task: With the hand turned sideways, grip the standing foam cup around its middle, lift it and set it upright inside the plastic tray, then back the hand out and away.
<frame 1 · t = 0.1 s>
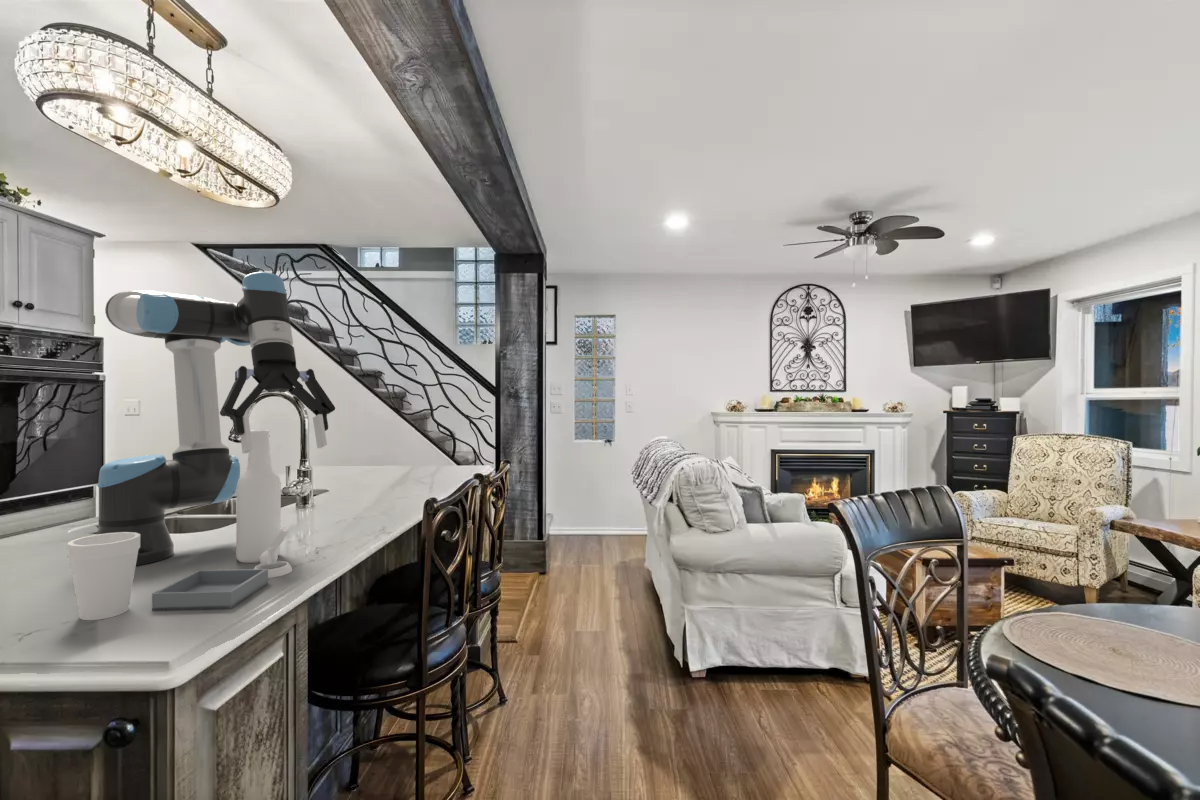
hand: (286, 449, 108), 28 cm above the counter, tool tilted 20°, fingers open, 13 cm apart
alcohol: (258, 558, 129), on the counter
tray: (213, 596, 105), on the counter
foam cup: (104, 614, 97), on the counter
hook: (271, 573, 119), on the counter
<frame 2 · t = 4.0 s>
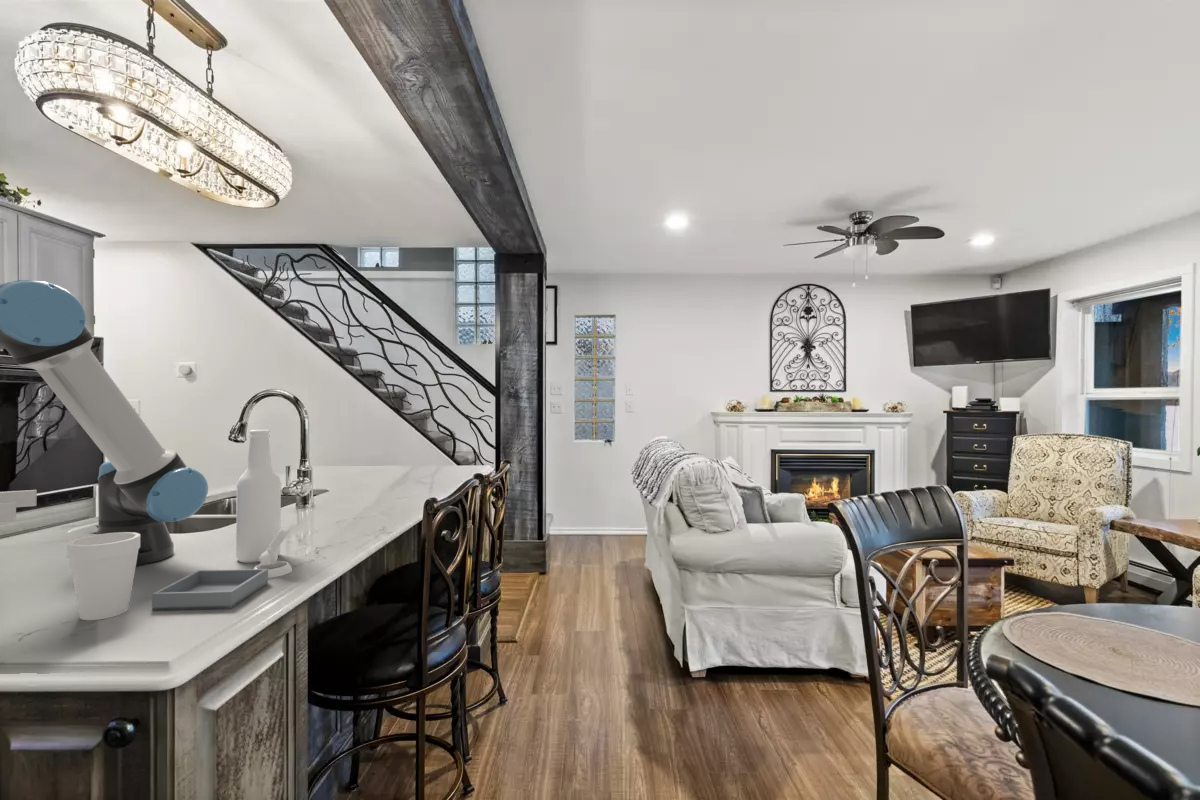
hand: (26, 504, 91), 20 cm above the counter, tool horizontal, fingers open, 13 cm apart
nothing on the counter moved.
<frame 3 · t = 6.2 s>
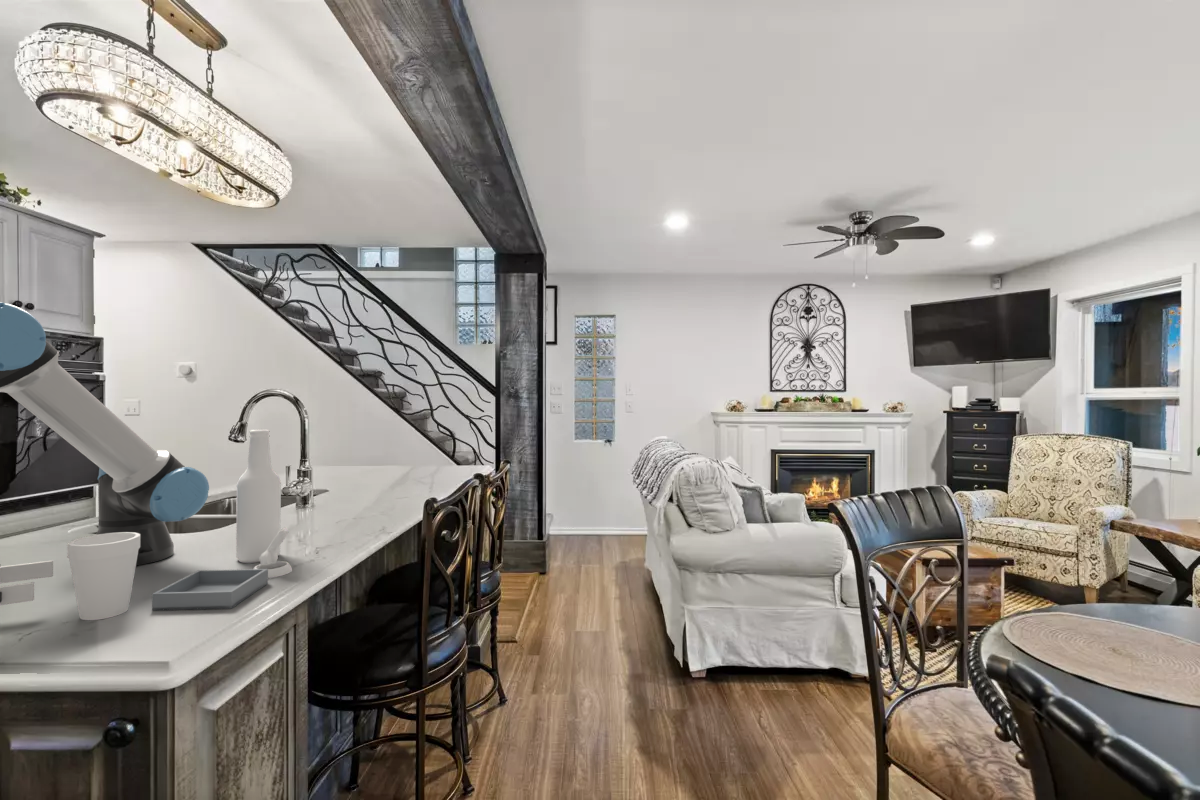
hand: (44, 579, 92), 7 cm above the counter, tool horizontal, fingers open, 13 cm apart
nothing on the counter moved.
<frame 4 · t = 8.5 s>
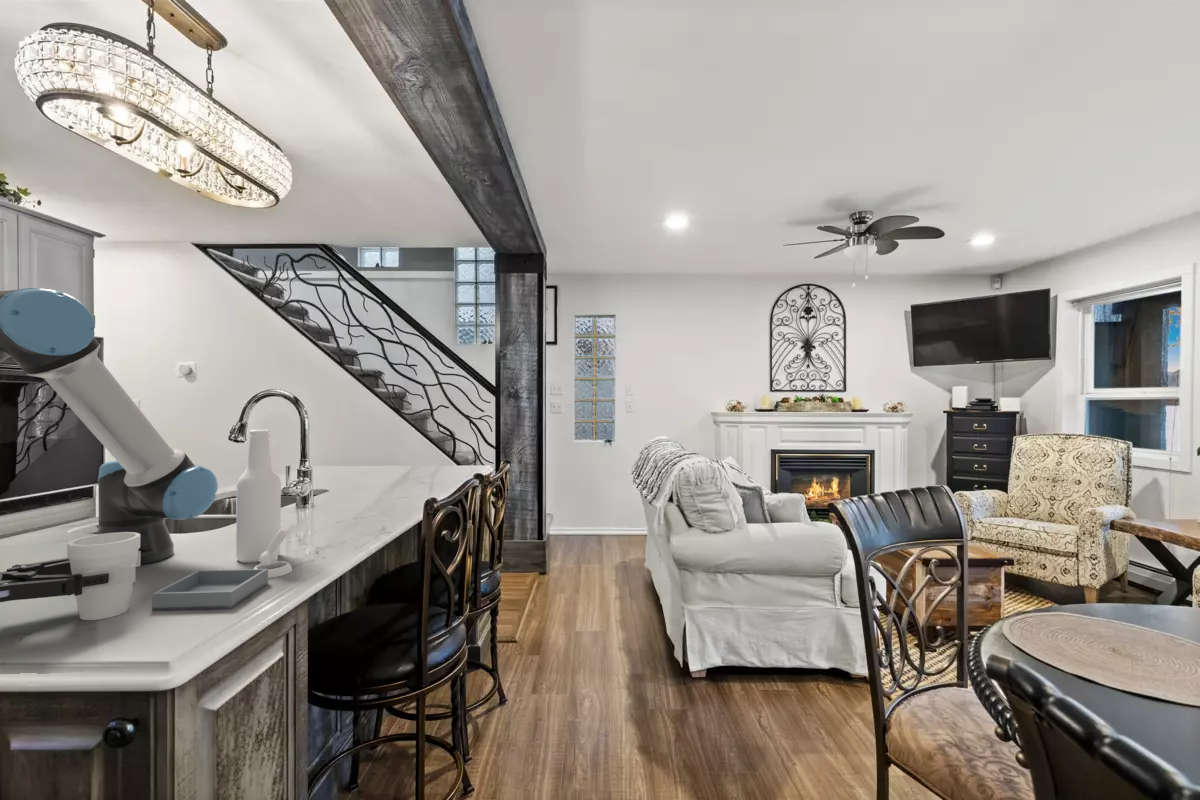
hand: (137, 565, 99), 8 cm above the counter, tool horizontal, fingers closed on foam cup, 9 cm apart
foam cup: (104, 614, 97), on the counter, touching gripper
everything else where it was.
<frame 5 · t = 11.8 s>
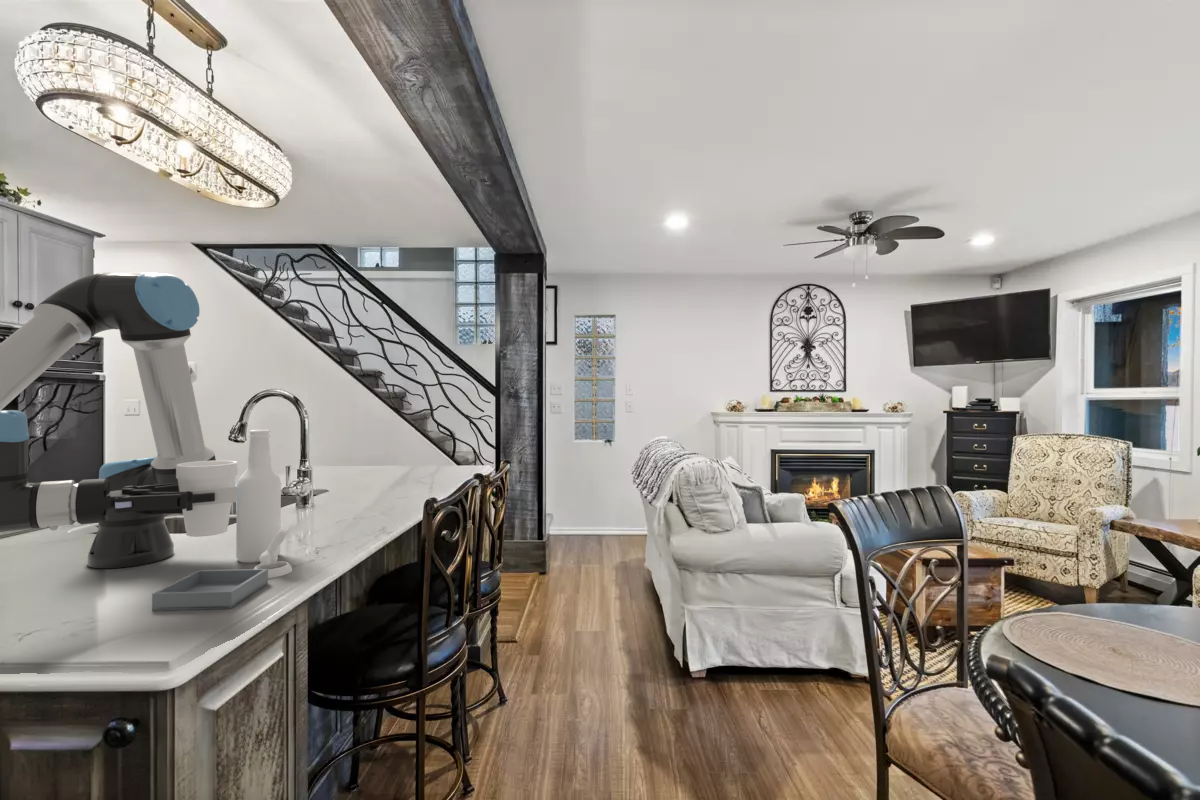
hand: (235, 490, 106), 20 cm above the counter, tool horizontal, fingers closed on foam cup, 9 cm apart
foam cup: (207, 533, 104), point 12 cm above the counter, touching gripper
everything else where it was.
when the fingers open (9 cm above the counter, at t = 15.0 s): foam cup stays where it is, resting on tray.
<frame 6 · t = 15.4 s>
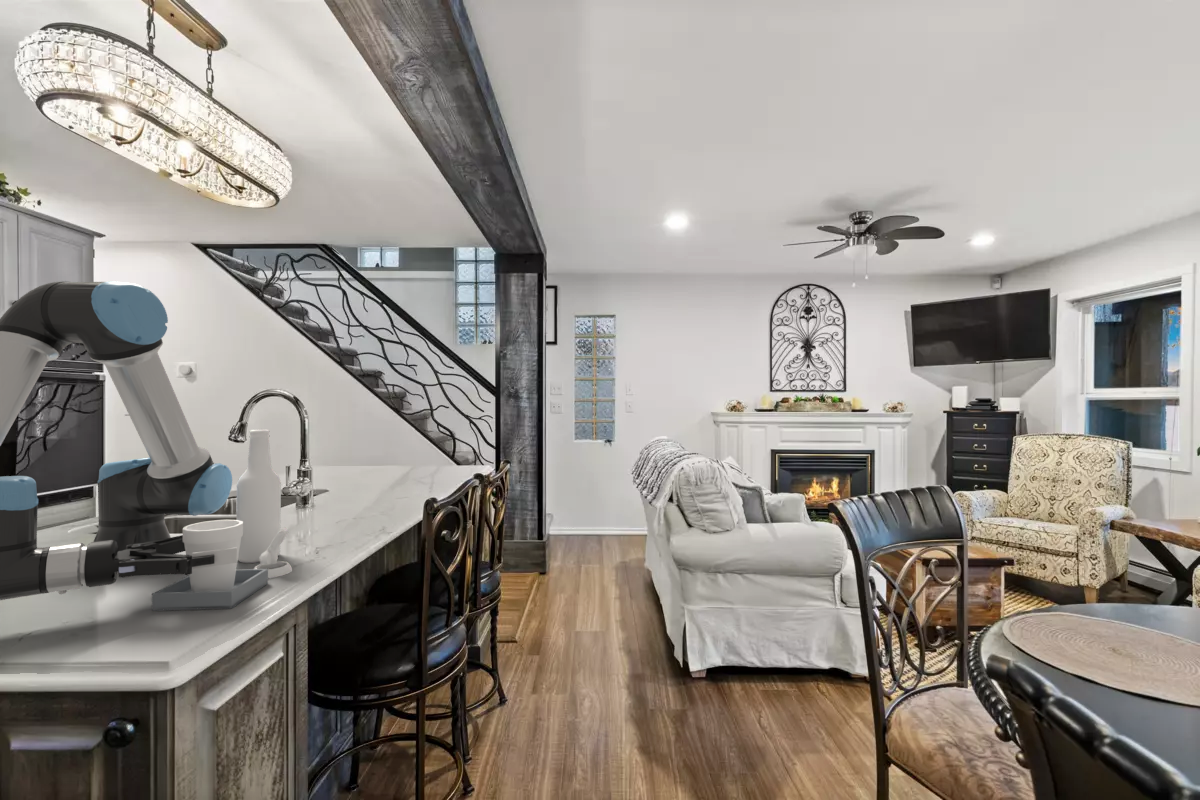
hand: (235, 546, 107), 9 cm above the counter, tool horizontal, fingers open, 13 cm apart
foam cup: (213, 594, 105), resting on tray
everything else where it was.
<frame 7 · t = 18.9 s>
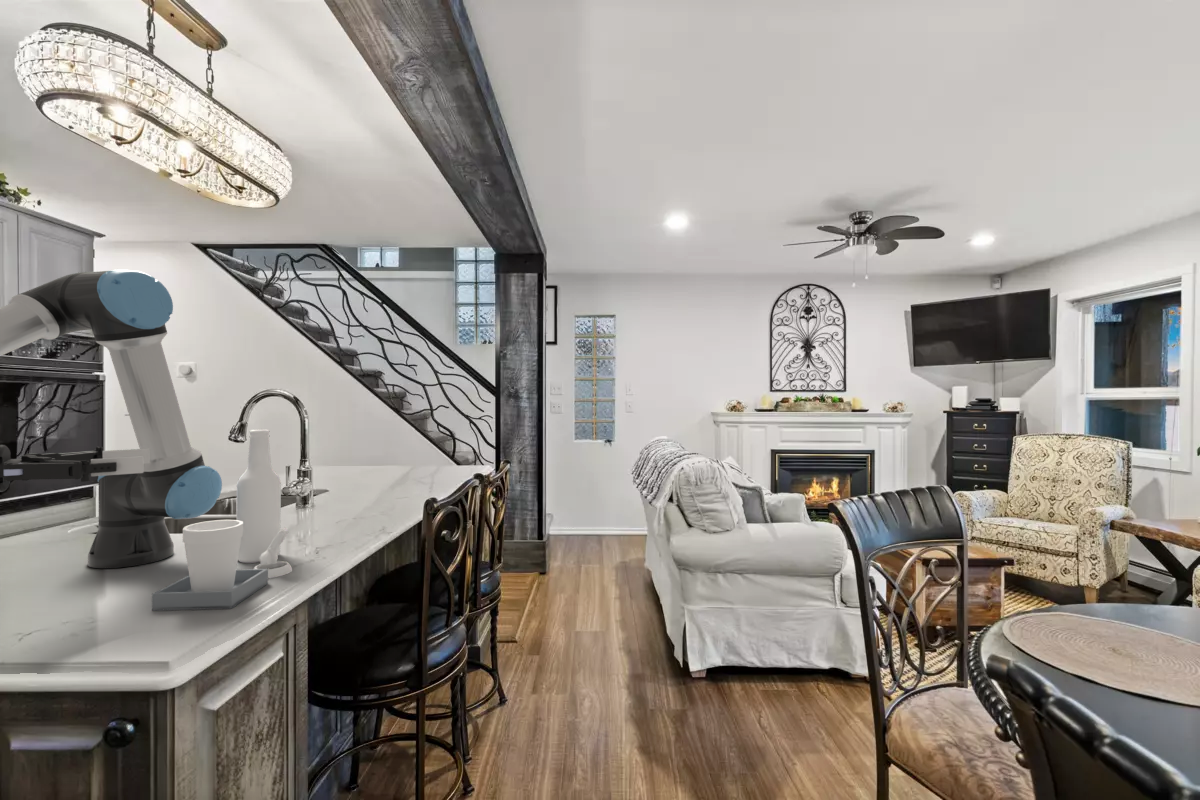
hand: (146, 460, 99), 27 cm above the counter, tool horizontal, fingers open, 13 cm apart
nothing on the counter moved.
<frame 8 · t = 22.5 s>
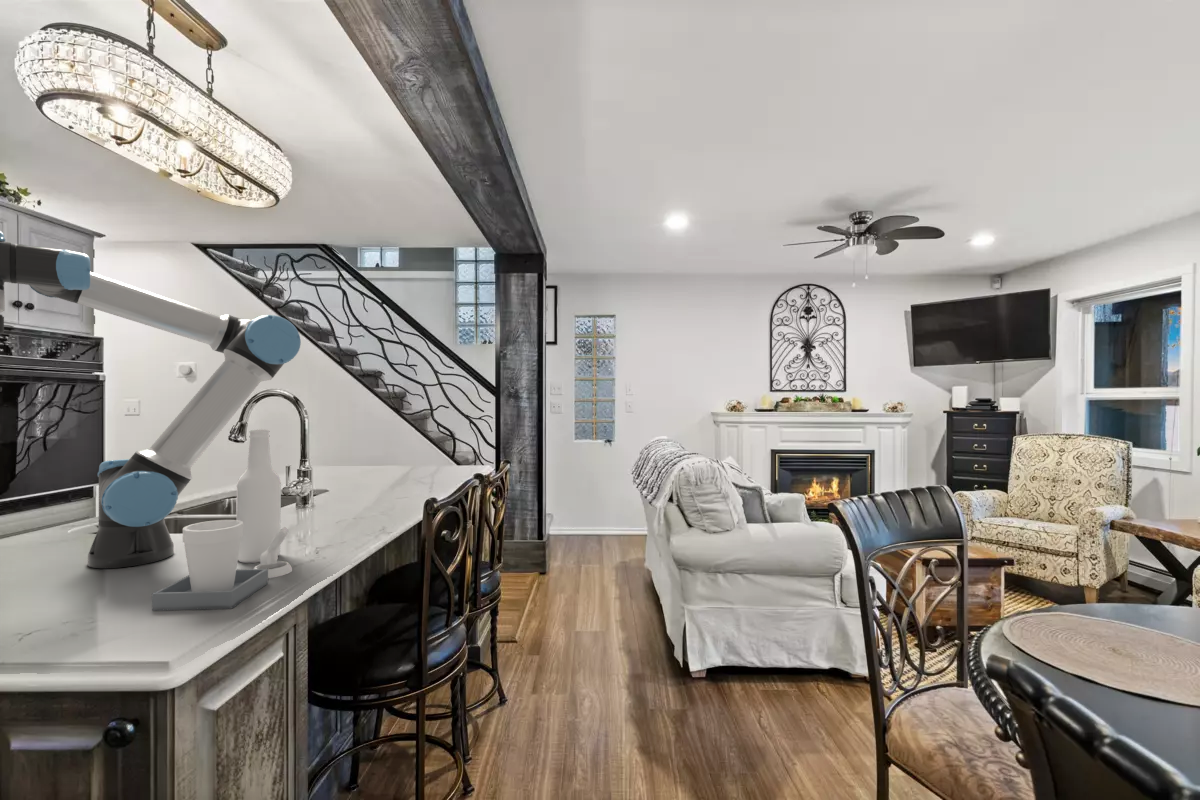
nothing on the counter moved.
at the end: foam cup inside the target area on the tray (0.1 cm from its centre), point 0.3 cm above the tray's base; foam cup tilted 0°; the gripper is holding nothing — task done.
